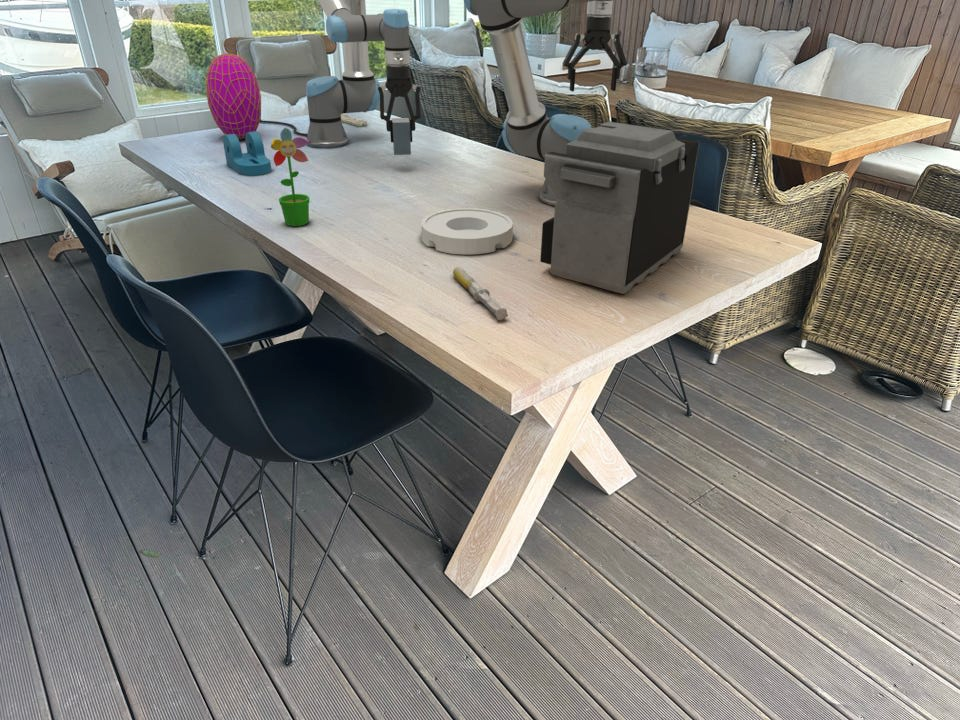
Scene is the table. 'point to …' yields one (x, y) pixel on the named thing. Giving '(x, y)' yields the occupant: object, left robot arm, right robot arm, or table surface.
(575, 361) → the table surface
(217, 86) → the decorative egg
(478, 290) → the syringe
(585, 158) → the electronic device
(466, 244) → the ashtray
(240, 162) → the camera mount
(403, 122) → the block
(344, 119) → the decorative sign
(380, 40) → the left robot arm
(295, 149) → the potted flower
